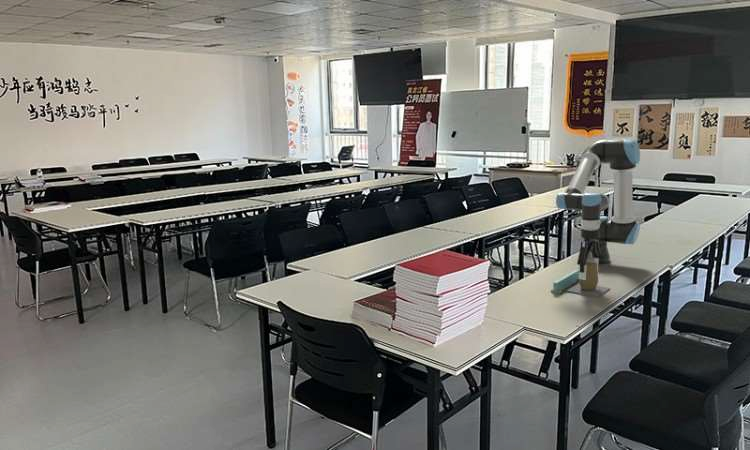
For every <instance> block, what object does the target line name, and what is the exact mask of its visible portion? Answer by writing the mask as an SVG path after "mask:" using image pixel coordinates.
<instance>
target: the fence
mask: <svg viewBox="0 0 750 450" xmlns="http://www.w3.org/2000/svg"><path fill="white" fill-rule="evenodd" d="M576 283H579V269H574V270H573V271H571V272H569V273H568V274H566V275H564V276H562V277H561V278H559V279H557V280H555V281H553V287H552V289H551V290H550V293H553V294H559V295H560V294H562V293H563V291H564V290H565V289H567V288H569V287H570V286H572V285H574V284H576Z"/></svg>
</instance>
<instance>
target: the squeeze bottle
mask: <svg viewBox="0 0 750 450" xmlns="http://www.w3.org/2000/svg"><path fill="white" fill-rule="evenodd" d="M585 265H586V280H582V279H579V282H578V283H580V286H581V289H583V290H586V291H593V290H595V289H596V286H598V284H599V274H598V273H599V270H598V271H597V264H596V263H595V258H594V257H592V252H589V255H588V258H587V261H586V264H585Z"/></svg>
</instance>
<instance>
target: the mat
mask: <svg viewBox="0 0 750 450" xmlns="http://www.w3.org/2000/svg"><path fill="white" fill-rule="evenodd" d="M610 290H611V288H610V287H606V286H601V285H597V286H596V289H595V290H593V291H586V290H583V289H581V286H580V283H579V282H577V283H575V285H573V286H571V287H570V288H568V289H567V290H566V291H565V292H567V293H571V294H576V295H580V296H587V297H592V298H597V299H598V298H600V297H601V296H602V295H605V293H607V292H608V291H610Z"/></svg>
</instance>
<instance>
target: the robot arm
mask: <svg viewBox="0 0 750 450" xmlns="http://www.w3.org/2000/svg"><path fill="white" fill-rule="evenodd" d="M639 145H640V144H638V142H637V141H636V140H635V139H627V138H626V139H625V138H624V139H601V140H597V141H595V142H594V143H592V144H590V145H589V146H588V147H587V148H586V149H585V150H584V151H582V154H581V156H580V158H579V161H580V162H579V164H578V167H577V168H576V171H575V173H574V174H573V176H572V179H571V180H570V182H569V184H568V186H567V189H566V190H565V192H559V193H557V195H556V198H555V204H556V207H557V209H561V210H568V211H570V210H571V211H581V222H580V225H581V226H580V227H581V229H580V231H581V232H580V237H581V238H582V239H583V241H581V242H580V248H579V254H578V258H577V262H576V263H577V264H576V265H579V269H578V270H579V279H582V280H586V265H585V264H586V261H587V258H588V255H589V252H592V257H594V258H595V263H596V264H597V271H598V272H599V264H607V263H609V262H610V261H611V255H610V251H609V249H608V243H612V244H619V245H620V244H621V245H634V244H635V243H636V242H637V240H638V238H639V233H640V229H641V224H640V222H639V221H637V218H636V216H635V215H633V212H634V211H633V170H634V169H635V168H636V167H637V165H638V164H639V163H640V161H641V158H640V157H641V150H640V146H639ZM601 164H608V165H609V168H610V170H611V171H612V172H613V173H612V174H613V176H612V177H613V180H612V181H613V215H612V217H611V218H610V219H609V217H608V215H607V216H605V215H601V212H603V211H605V210H606V209H608V207H609V206H610V203H611V201H610V198H609V196H608V195H606V194H604V193H598V192H586V193H585V190H586V188H587V186H588V184H589V182H590V180H591V179H592V176H593V174H594V173H595V170H596V169H597V168H599V166H601Z"/></svg>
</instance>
